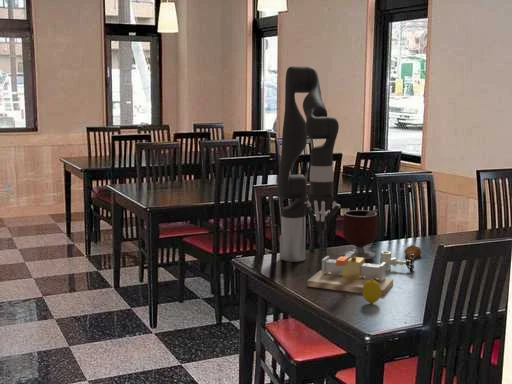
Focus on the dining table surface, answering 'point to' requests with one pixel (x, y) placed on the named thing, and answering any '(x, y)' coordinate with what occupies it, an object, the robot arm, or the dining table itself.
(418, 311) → the dining table surface
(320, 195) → the robot arm
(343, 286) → the valve board
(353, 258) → the pipe valve
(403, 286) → the dining table surface
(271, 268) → the dining table surface
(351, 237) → the mate gourd
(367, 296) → the lemon
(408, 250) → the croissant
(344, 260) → the valve lever
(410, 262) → the valve
